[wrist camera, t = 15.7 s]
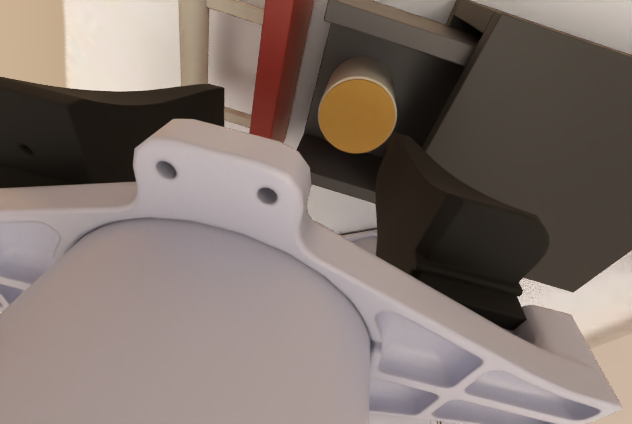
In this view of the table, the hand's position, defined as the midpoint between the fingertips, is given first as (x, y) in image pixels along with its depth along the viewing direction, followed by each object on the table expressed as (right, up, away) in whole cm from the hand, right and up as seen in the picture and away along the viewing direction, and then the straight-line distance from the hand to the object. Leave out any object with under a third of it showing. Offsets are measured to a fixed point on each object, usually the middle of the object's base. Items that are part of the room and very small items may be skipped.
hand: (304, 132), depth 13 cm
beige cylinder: (+3, +4, +6) cm, 8 cm away
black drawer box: (+13, +2, +8) cm, 15 cm away
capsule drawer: (+2, +5, +7) cm, 9 cm away
